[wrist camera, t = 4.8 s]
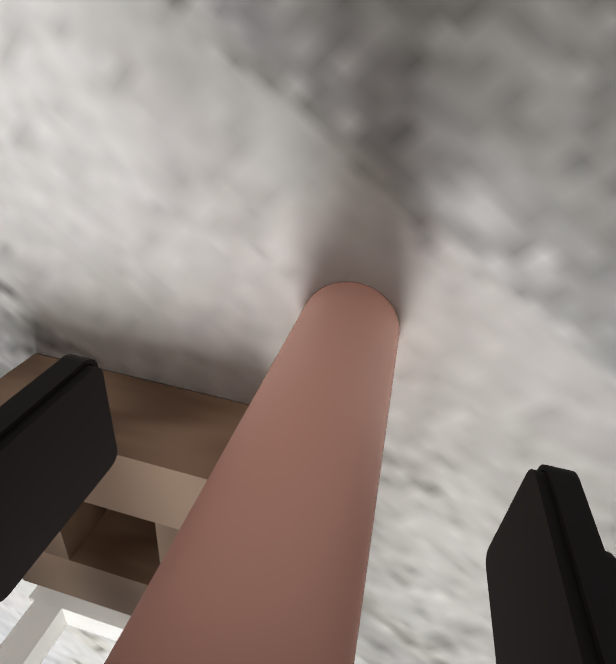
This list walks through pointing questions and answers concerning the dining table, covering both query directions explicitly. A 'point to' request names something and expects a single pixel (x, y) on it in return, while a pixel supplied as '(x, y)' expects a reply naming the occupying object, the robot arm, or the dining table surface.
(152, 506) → the socket block
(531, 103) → the dining table surface
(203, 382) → the dining table surface
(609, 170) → the dining table surface
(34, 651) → the small white step stool
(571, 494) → the robot arm
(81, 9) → the dining table surface
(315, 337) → the peg
